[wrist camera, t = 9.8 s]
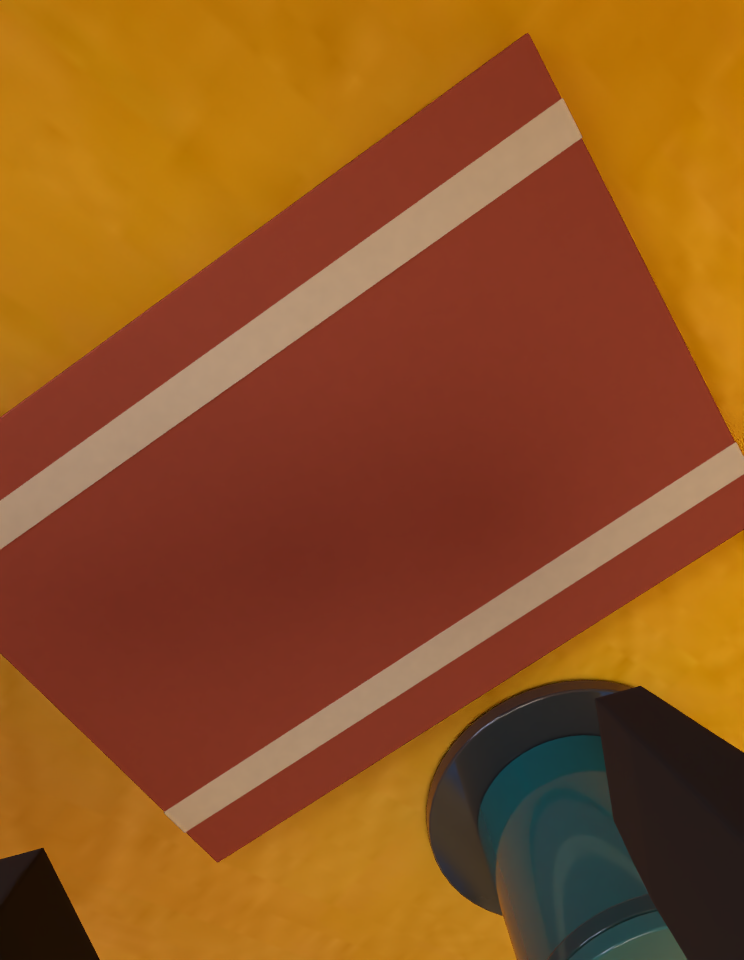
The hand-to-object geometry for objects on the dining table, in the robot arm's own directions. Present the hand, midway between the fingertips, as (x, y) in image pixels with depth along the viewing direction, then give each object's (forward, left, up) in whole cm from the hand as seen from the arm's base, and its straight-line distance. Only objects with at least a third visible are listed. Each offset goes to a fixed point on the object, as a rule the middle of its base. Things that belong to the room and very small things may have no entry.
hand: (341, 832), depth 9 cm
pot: (+1, -11, -9) cm, 14 cm away
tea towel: (+1, 0, -9) cm, 9 cm away
